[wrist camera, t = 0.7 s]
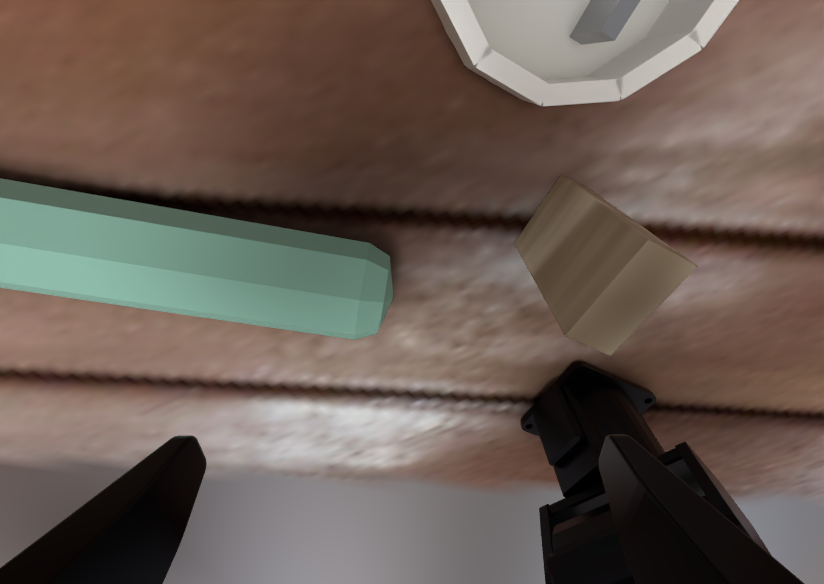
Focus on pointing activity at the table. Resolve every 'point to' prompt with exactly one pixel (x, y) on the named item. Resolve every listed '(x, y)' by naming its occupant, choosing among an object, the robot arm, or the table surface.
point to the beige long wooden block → (597, 266)
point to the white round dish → (578, 43)
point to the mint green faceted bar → (189, 263)
